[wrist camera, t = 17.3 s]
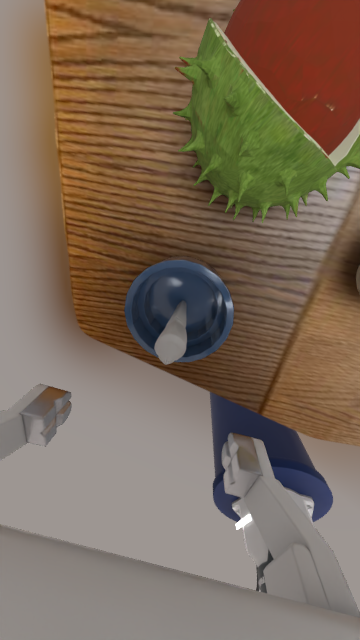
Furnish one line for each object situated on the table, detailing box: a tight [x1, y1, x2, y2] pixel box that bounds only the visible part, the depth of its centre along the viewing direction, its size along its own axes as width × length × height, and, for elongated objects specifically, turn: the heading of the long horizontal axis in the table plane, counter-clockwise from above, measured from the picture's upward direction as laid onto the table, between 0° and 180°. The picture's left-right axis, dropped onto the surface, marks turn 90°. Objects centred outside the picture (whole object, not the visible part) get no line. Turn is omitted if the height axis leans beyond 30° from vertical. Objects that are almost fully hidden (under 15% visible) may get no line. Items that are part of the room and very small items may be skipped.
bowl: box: [124, 256, 234, 362], centre depth 24 cm, size 13×13×6 cm
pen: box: [154, 300, 187, 365], centre depth 20 cm, size 2×3×14 cm
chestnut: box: [173, 0, 360, 223], centre depth 13 cm, size 15×14×15 cm
